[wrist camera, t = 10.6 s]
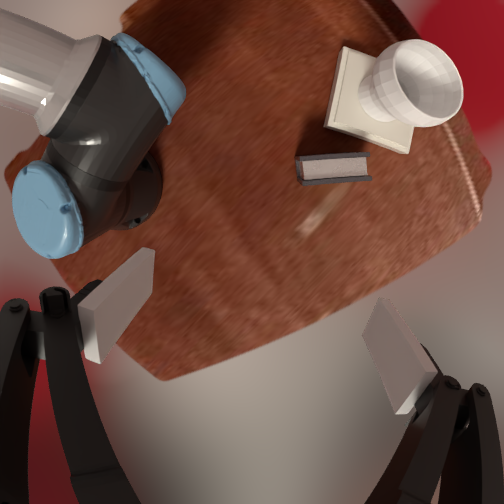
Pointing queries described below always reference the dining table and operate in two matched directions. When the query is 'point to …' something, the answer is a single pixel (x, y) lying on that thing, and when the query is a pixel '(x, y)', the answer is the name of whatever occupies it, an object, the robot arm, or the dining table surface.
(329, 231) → the dining table surface
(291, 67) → the dining table surface
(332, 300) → the dining table surface
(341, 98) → the pedestal
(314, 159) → the napkin holder
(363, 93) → the cup
